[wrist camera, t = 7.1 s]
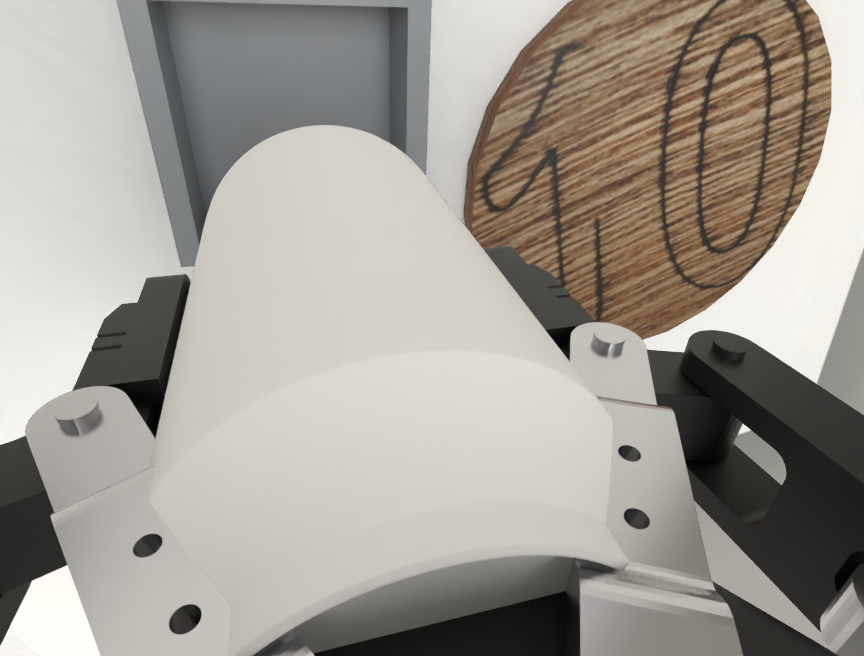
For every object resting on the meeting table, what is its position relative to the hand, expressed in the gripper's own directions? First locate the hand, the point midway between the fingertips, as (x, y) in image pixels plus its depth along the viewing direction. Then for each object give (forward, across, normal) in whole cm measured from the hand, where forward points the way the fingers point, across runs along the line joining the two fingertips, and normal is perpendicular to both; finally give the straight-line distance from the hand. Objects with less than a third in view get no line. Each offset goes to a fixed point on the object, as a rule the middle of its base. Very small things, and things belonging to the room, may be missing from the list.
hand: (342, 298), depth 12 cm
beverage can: (+4, 0, 0) cm, 4 cm away
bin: (+20, 0, 0) cm, 20 cm away
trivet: (+21, -22, +5) cm, 31 cm away
